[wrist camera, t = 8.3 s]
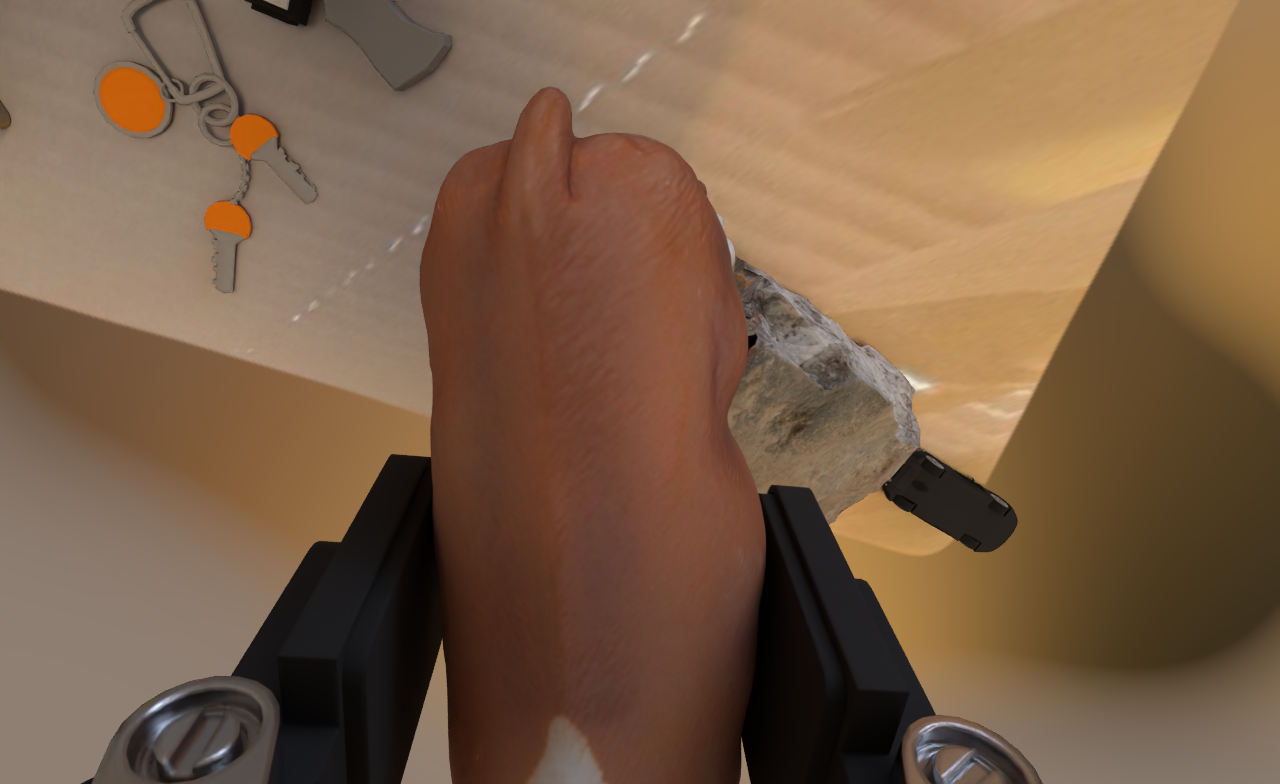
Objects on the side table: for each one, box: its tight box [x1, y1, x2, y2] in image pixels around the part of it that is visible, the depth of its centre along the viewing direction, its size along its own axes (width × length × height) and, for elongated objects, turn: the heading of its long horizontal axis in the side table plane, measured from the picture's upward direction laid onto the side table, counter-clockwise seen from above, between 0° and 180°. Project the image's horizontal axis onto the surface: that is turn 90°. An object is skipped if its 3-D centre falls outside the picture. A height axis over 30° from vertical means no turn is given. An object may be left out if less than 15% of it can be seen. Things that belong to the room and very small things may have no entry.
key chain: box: [93, 0, 317, 293], centre depth 34 cm, size 13×7×1 cm, turn 19°
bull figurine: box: [420, 87, 766, 784], centre depth 11 cm, size 4×13×8 cm, turn 177°
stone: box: [727, 256, 921, 525], centre depth 35 cm, size 13×17×15 cm
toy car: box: [882, 451, 1018, 552], centre depth 42 cm, size 8×4×2 cm, turn 59°
